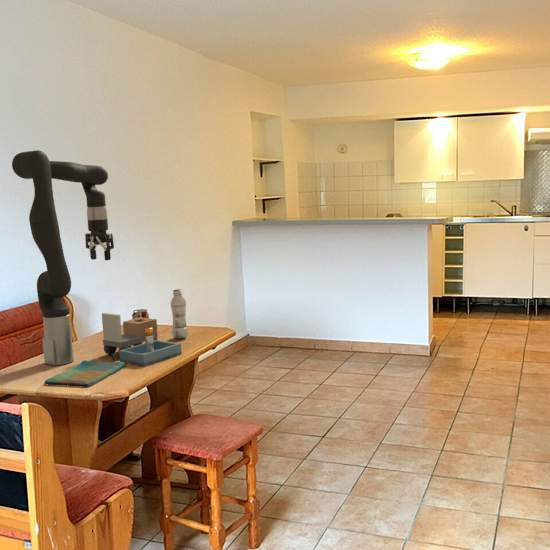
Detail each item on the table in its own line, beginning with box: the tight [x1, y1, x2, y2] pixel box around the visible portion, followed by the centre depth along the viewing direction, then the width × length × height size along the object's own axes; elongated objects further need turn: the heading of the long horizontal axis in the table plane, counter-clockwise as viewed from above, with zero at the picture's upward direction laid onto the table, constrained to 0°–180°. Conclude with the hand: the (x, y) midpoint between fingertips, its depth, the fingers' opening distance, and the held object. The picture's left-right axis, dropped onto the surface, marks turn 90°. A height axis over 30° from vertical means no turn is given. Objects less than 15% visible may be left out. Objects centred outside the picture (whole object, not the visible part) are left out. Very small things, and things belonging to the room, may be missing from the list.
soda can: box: [131, 308, 150, 320], centre depth 261 cm, size 7×7×12 cm
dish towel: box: [43, 359, 126, 388], centre depth 213 cm, size 17×23×2 cm
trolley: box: [101, 312, 159, 361], centre depth 240 cm, size 21×10×16 cm, turn 143°
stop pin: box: [145, 327, 154, 353], centre depth 231 cm, size 3×3×10 cm
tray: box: [118, 339, 182, 367], centre depth 231 cm, size 18×13×4 cm
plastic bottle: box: [169, 288, 189, 340], centre depth 259 cm, size 6×7×20 cm
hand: (100, 259), depth 251 cm, fingers open, 8 cm apart
